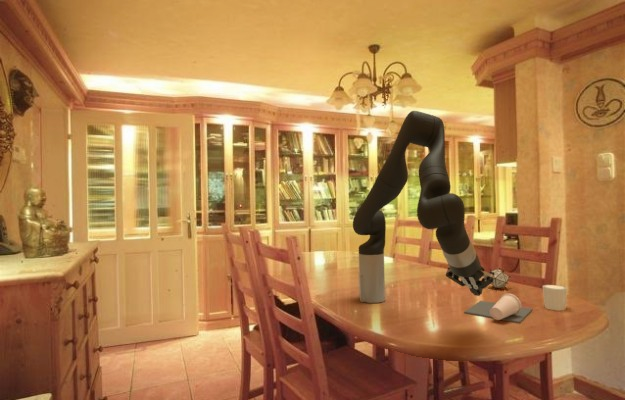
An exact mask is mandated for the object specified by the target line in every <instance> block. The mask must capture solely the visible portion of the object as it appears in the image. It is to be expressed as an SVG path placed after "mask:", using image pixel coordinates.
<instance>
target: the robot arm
mask: <svg viewBox="0 0 625 400" xmlns="http://www.w3.org/2000/svg"><path fill="white" fill-rule="evenodd" d="M401 124H402V125H401V127H400V129H399V131H398V134H397V136H396V138H395V141H394V143H393V146H392V148H391V149H390V151H389V153H388V156H387V158H386V160H385V161H384V163H383V165H382V167H381V169H380V171H379V173H378V175H377V177H376V179H375V180H374V183H373V185H372V187H371V188H370V190H369V192H368V194H367V195H366V197H365V199H364V200H363V202H362V203H361V205H360V206H359V208H358V209H357V211H356V212H355V214H354V217H353V219H352V229H353V231H354V233H355V234H357V235H359V236H369V238H368V240H367V241H365V242H364V243H362V244H360V245H359V246H358V292H359V293H358V295H359V296H358V297H359V302H361V303H368V304H369V303H370V304H377V303H383V302H384V301H386V287H385V286H386V281H385V246H386V232H387V231H386V228H387V226H386V225H387V224H386V223H387V222H386V217H385V214H384V212H382V210H381V209H383V208H384V207H386V206H387V205H389V204H390V203H391V202H393V201H394V200H395V199H396V198H397V197H398V196H399V195H400V194H401V193H402V190H403V189H404V188H405V185H406V184H407V182H408V179H409V171H408V170H409V169H408V165H407V160H406V153H407V148H408V146H409V145H410V144H412V145H416V146H419V147H423V148H424V147H425V148H427V149H428V151H429V152H428V153H427V154H426V156H425V157H424V158H423V159H422V160H421V162H420V164H419V167H418V180H419V186H420V193H419V198H418V201H417V207H416V216H417V220H418V222H419V224H420V225H421V226H422V227H423V228H424V229H427V230H434V229H436V230H435V237H436V240H437V242H438V244H439V245H440V248H441V250H442V255H443V256H444V258H445V260H446V262H447V264H448V267H447V270H446V273H445V276H446V277H447V278H448V279H450V280H451V281H453V282H455V283H456V284H457V285H459V286H461V287H465V286H466V287H467V288H468V289H469V290H470V293H472V294H473V296H479V297H480V296H481V295H482V293H483V290H484V289H486V288H487V287H488V286H489V285H492V284H491V283H492V282H493V279H494V275H495V273H494V272H490V271H489V272H488V271H486V270H485V268H484V267H483V266H482V264H481V260H480V259H479V256H478V253H477V251H476V249H475V247H474V244H473V242H472V241H471V239H470V237H469V235H468V233H467V230H466V227H465V215H466V214H465V213H466V209H465V204H464V200H462V198H461V196H459V195H457V194H456V193H452V192H451V193H450V191H451V187H452V186H451V182H450V177H449V173H448V170H447V166H446V139H445V137H446V136H445V135H446V134H445V131H446V130H445V124H444V120H442V119H441V118H440V117H439V116H436V115H433V114H429V113H426V112H422V111H419V110H412V111H410V112H409V113H408V114H407V115H406V116H405V118H404V120H403V123H401Z"/></svg>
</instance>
